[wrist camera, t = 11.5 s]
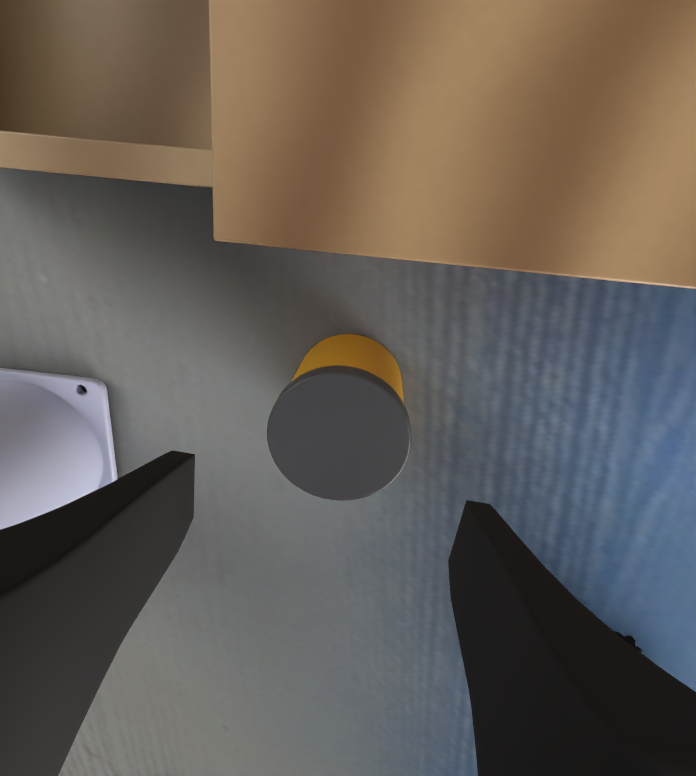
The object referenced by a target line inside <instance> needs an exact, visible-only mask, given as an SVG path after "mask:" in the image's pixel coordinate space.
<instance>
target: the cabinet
mask: <svg viewBox="0 0 696 776" xmlns="http://www.w3.org/2000/svg"><path fill="white" fill-rule="evenodd" d="M209 44H210V90H211V137H212V183H213V229H214V240H216V241H223V242H233V243H243V244H253V245H262V246H272V247H282V248H292V249H302V250H312V251H322V252H332V253H342V254H352V255H362V256H372V257H382V258H392V259H402V260H412V261H422V262H432V263H442V264H451V265H461V266H471V267H481V268H491V269H501V270H511V271H521V272H531V273H541V274H551V275H561V276H571V277H581V278H591V279H601V280H611V281H621V282H631V283H640V284H650V285H660V286H670V287H680V288H690V289H696V0H209Z"/></svg>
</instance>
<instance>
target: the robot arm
mask: <svg viewBox="0 0 696 776" xmlns="http://www.w3.org/2000/svg"><path fill="white" fill-rule="evenodd" d="M81 385H83V386H84V387H85V388H86V390H87V392H85V391H83V390H82V388H81ZM194 468H195V454H190V453H184V452H178V451H170V452H168V453H166V454H164V455H162V456H160V457H158V458H156V459H154V460H153V461H151V462H149V463H147V464H145V465H143V466H141V467H140V468H138V469H136V470H134V471H132V472H130V473H128V474H127V475H125V476H123V477H121V478H119V479H118V477H117V469H116V461H115V452H114V444H113V436H112V427H111V419H110V411H109V403H108V394H107V388H106V385H105V384H104V383H103V382H102V381H101V380H99V379H96V378H88V377H79V376H70V375H61V374H52V373H44V372H35V371H26V370H17V369H8V368H0V776H58V774H59V772H60V770H61V768H62V766H63V763H64V761H65V759H66V757H67V755H68V752H69V750H70V748H71V746H72V744H73V741H74V739H75V737H76V735H77V732H78V730H79V728H80V726H81V724H82V722H83V720H84V718H85V716H86V714H87V712H88V709H89V707H90V705H91V703H92V701H93V699H94V697H95V695H96V693H97V691H98V689H99V686H100V684H101V682H102V680H103V678H104V676H105V674H106V672H107V671H108V669H109V667H110V665H111V663H112V661H113V659H114V657H115V655H116V653H117V651H118V649H119V647H120V645H121V643H122V641H123V639H124V638H125V636H126V634H127V633H128V631H129V629H130V627H131V626H132V624H133V623H134V621H135V619H136V618H137V616H138V615H139V613H140V611H141V610H142V608H143V607H144V605H145V603H146V602H147V600H148V599H149V597H150V596H151V594H152V592H153V591H154V589H155V588H156V586H157V584H158V583H159V581H160V580H161V578H162V576H163V575H164V573H165V572H166V570H167V568H168V567H169V565H170V564H171V562H172V560H173V559H174V557H175V555H176V554H177V552H178V550H179V548H180V546H181V544H182V542H183V540H184V538H185V535H186V533H187V531H188V529H189V526H190V524H191V522H192V520H193V514H194ZM448 563H449V580H450V593H451V601H452V607H453V612H454V617H455V622H456V628H457V633H458V638H459V643H460V647H461V652H462V657H463V662H464V667H465V672H466V677H467V682H468V688H469V694H470V700H471V707H472V716H473V726H474V736H475V746H476V756H477V768H478V776H696V692H695V691H693V690H692V689H690V688H689V687H687V686H686V685H684V684H683V683H681V682H680V681H678V680H677V679H675V678H674V677H673V676H671V675H670V674H668V673H667V672H666V671H664V670H663V669H662V668H660V667H659V666H657V665H656V664H655V663H653V662H652V661H651V660H649V659H648V658H647V657H645V656H644V655H643V654H641V653H640V652H639V651H638V650H636V649H635V648H634V647H632V646H631V645H630V644H629V643H627V642H626V641H625V640H623V639H622V638H621V637H620V636H618V635H617V634H616V633H615V632H614V631H612V630H611V629H610V628H609V627H608V626H606V625H605V624H604V623H603V622H602V621H601V620H600V619H598V618H597V617H596V616H595V615H594V614H593V613H592V612H591V611H589V610H588V609H587V608H586V607H585V606H584V605H583V604H582V603H581V602H579V601H578V600H577V599H576V598H575V597H574V596H573V595H572V594H571V593H570V592H569V591H568V590H567V589H566V588H565V587H564V586H563V585H562V584H561V583H560V582H559V581H558V580H557V579H556V578H555V577H554V576H553V575H552V574H551V573H550V572H549V571H548V570H547V569H546V567H545V566H544V565H543V564H542V563H541V562H540V561H539V560H538V559H537V558H536V557H535V555H534V554H533V553H532V552H531V551H530V550H529V549H528V548H527V546H526V545H525V544H524V543H523V542H522V541H521V540H520V538H519V537H518V536H517V535H516V534H515V533H514V531H513V530H512V529H511V528H510V527H509V525H508V524H507V523H506V522H505V521H504V520H503V518H502V517H501V516H500V515H499V514H498V513H497V511H496V510H495V509H494V508H493V507H492V506H491V505H490V504H486V503H480V502H474V501H468V500H466V504H465V507H464V510H463V514H462V517H461V520H460V524H459V527H458V530H457V534H456V537H455V541H454V544H453V547H452V551H451V554H450V557H449V561H448Z"/></svg>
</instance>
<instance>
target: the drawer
mask: <svg viewBox="0 0 696 776" xmlns="http://www.w3.org/2000/svg"><path fill="white" fill-rule="evenodd" d="M0 167H2V168H12V169H23V170H33V171H43V172H54V173H64V174H75V175H85V176H95V177H106V178H116V179H126V180H137V181H147V182H158V183H168V184H178V185H189V186H199V187H210V188H213V183H212V137H211V90H210V44H209V0H0Z"/></svg>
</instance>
